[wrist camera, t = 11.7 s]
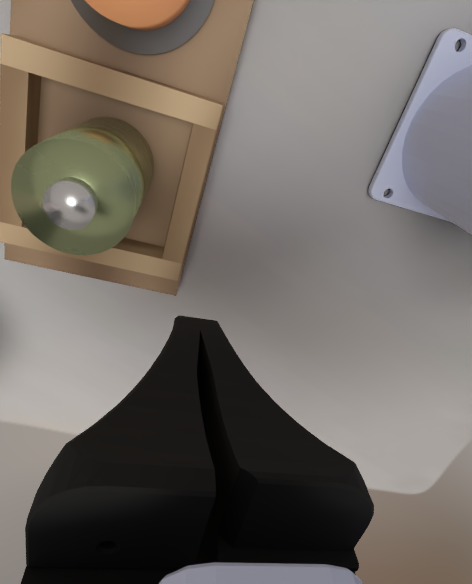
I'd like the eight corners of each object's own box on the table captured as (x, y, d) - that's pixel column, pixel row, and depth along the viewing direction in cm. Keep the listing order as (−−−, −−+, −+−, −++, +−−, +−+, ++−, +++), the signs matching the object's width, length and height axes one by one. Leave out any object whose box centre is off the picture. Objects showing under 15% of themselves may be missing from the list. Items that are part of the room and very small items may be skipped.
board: (280, -113, 15) (295, -144, 13) (177, 285, 24) (174, 309, 21) (31, -227, 13) (-4, -288, 11) (13, 249, 22) (-9, 272, 19)
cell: (162, 132, 18) (142, 164, 12) (145, 214, 20) (120, 274, 14) (71, 104, 17) (5, 123, 12) (62, 191, 19) (1, 246, 13)
